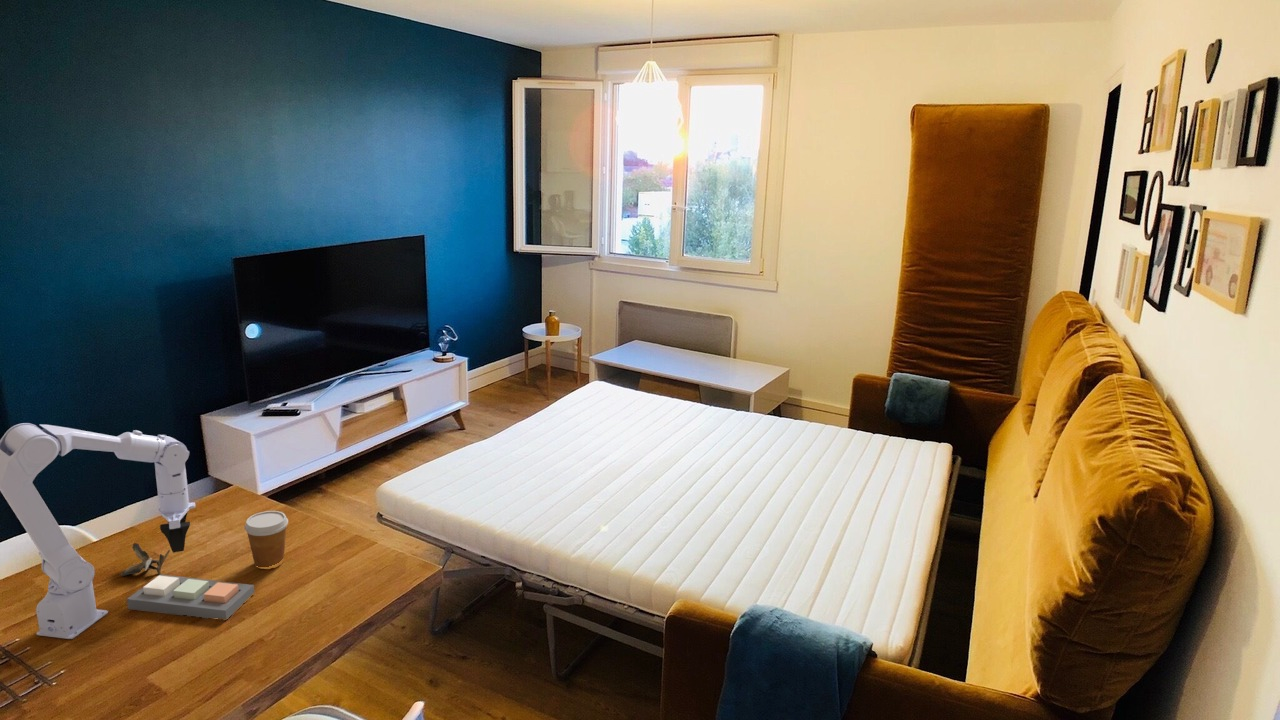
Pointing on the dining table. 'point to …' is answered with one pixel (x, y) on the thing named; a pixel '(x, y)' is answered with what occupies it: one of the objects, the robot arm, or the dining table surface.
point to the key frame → (190, 602)
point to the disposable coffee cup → (267, 537)
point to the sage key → (191, 589)
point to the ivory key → (161, 586)
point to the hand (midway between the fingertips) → (178, 543)
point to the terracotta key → (221, 593)
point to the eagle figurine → (144, 562)
